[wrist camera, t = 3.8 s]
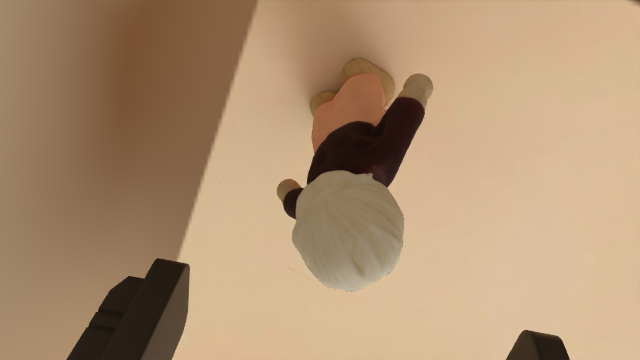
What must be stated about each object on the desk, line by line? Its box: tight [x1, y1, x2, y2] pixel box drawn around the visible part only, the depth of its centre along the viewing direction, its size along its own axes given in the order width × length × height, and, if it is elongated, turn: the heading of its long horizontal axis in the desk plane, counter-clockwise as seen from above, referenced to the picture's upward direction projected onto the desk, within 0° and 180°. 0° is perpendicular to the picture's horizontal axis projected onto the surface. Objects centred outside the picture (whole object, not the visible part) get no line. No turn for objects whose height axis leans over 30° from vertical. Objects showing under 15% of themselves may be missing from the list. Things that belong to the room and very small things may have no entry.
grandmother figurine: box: [277, 59, 433, 292], centre depth 19 cm, size 8×4×13 cm, turn 147°
